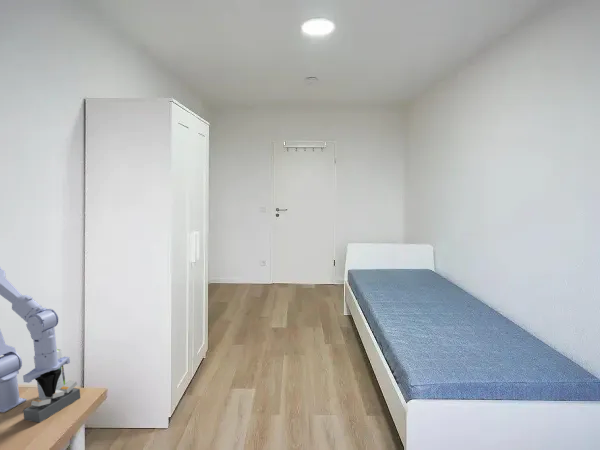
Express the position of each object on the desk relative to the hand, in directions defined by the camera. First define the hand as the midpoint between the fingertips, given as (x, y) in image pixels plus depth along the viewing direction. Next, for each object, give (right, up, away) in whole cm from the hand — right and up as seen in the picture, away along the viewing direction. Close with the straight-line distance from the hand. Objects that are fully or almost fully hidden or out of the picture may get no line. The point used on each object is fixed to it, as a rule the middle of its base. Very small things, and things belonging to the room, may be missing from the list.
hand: (50, 395), depth 135 cm
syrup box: (-6, -5, +12) cm, 14 cm away
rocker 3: (+2, 0, +6) cm, 7 cm away
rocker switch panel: (0, -5, +3) cm, 6 cm away
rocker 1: (-1, -1, -3) cm, 3 cm away
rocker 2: (+1, 0, +2) cm, 2 cm away
